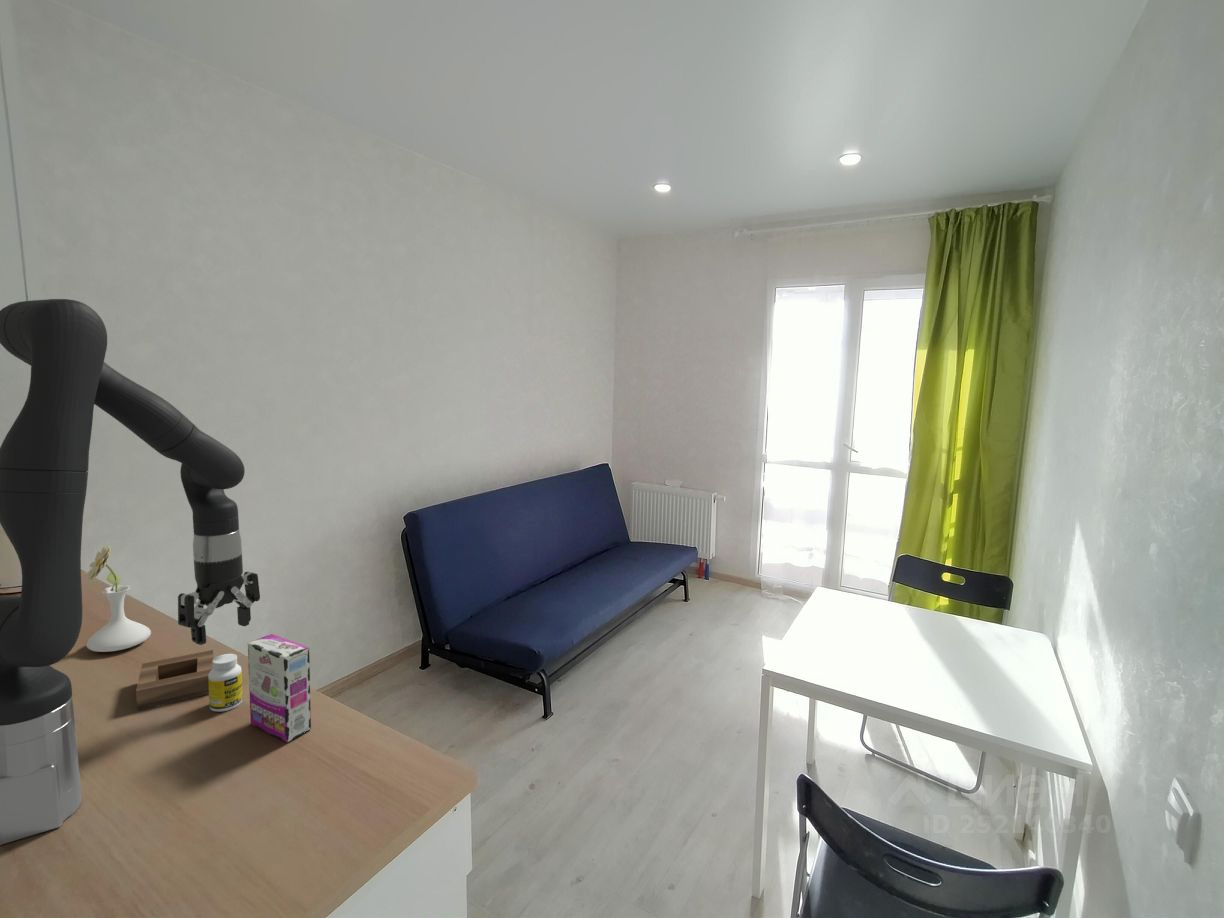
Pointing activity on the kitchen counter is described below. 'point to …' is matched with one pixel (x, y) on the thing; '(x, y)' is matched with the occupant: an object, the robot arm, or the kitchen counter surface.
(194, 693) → the socket block
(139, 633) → the flower in vase
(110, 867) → the kitchen counter surface
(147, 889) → the kitchen counter surface
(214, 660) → the supplement bottle
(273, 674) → the candy bar box
